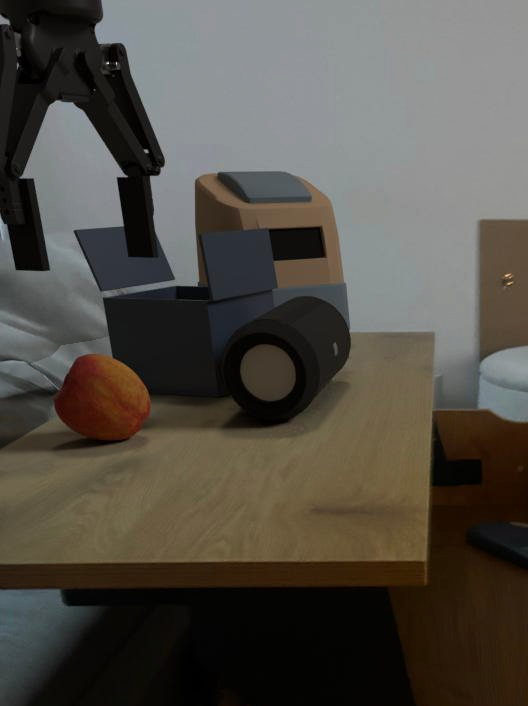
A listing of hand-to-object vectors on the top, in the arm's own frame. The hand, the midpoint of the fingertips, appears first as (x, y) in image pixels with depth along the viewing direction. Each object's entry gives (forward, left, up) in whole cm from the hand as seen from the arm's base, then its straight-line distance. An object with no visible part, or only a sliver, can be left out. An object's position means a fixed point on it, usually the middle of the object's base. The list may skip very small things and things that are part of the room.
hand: (92, 263), depth 82 cm
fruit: (-4, +4, -16) cm, 17 cm away
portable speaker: (+4, +25, -16) cm, 30 cm away
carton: (-12, +31, -16) cm, 37 cm away
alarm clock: (-13, +51, -16) cm, 55 cm away
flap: (-20, +31, -2) cm, 37 cm away
